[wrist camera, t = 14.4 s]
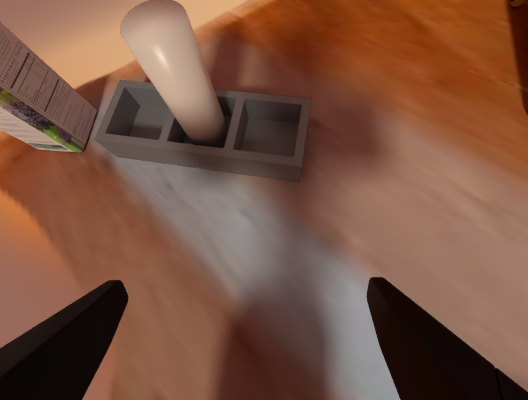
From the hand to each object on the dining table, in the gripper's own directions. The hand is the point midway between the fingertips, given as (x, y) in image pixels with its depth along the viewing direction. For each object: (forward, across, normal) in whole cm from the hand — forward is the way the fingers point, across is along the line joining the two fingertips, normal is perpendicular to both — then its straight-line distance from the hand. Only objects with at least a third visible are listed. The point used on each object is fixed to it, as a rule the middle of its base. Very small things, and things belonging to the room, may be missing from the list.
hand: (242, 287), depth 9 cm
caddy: (+20, +6, -1) cm, 20 cm away
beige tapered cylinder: (+19, +6, -2) cm, 20 cm away
